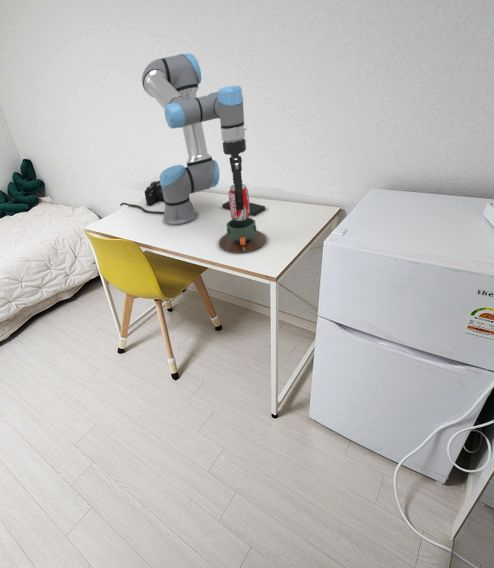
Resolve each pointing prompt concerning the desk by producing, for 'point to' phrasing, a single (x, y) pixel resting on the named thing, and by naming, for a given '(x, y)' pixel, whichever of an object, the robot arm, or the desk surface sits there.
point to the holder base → (249, 246)
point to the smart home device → (253, 208)
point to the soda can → (235, 214)
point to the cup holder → (241, 229)
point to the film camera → (154, 193)
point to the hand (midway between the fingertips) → (239, 205)
